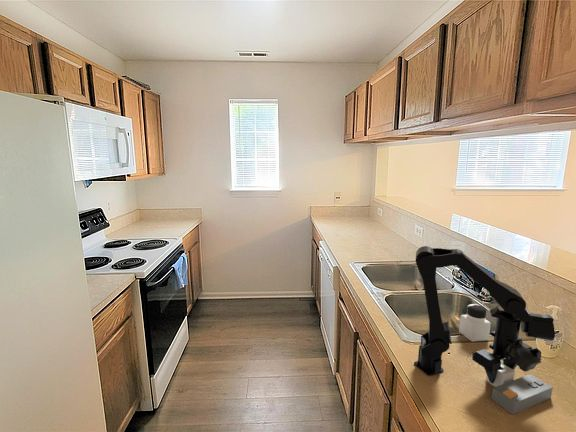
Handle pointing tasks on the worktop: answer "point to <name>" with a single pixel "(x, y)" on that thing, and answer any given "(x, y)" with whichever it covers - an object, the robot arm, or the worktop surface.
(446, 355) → the worktop surface
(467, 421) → the worktop surface
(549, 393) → the power strip
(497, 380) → the charger
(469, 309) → the medicine bottle
